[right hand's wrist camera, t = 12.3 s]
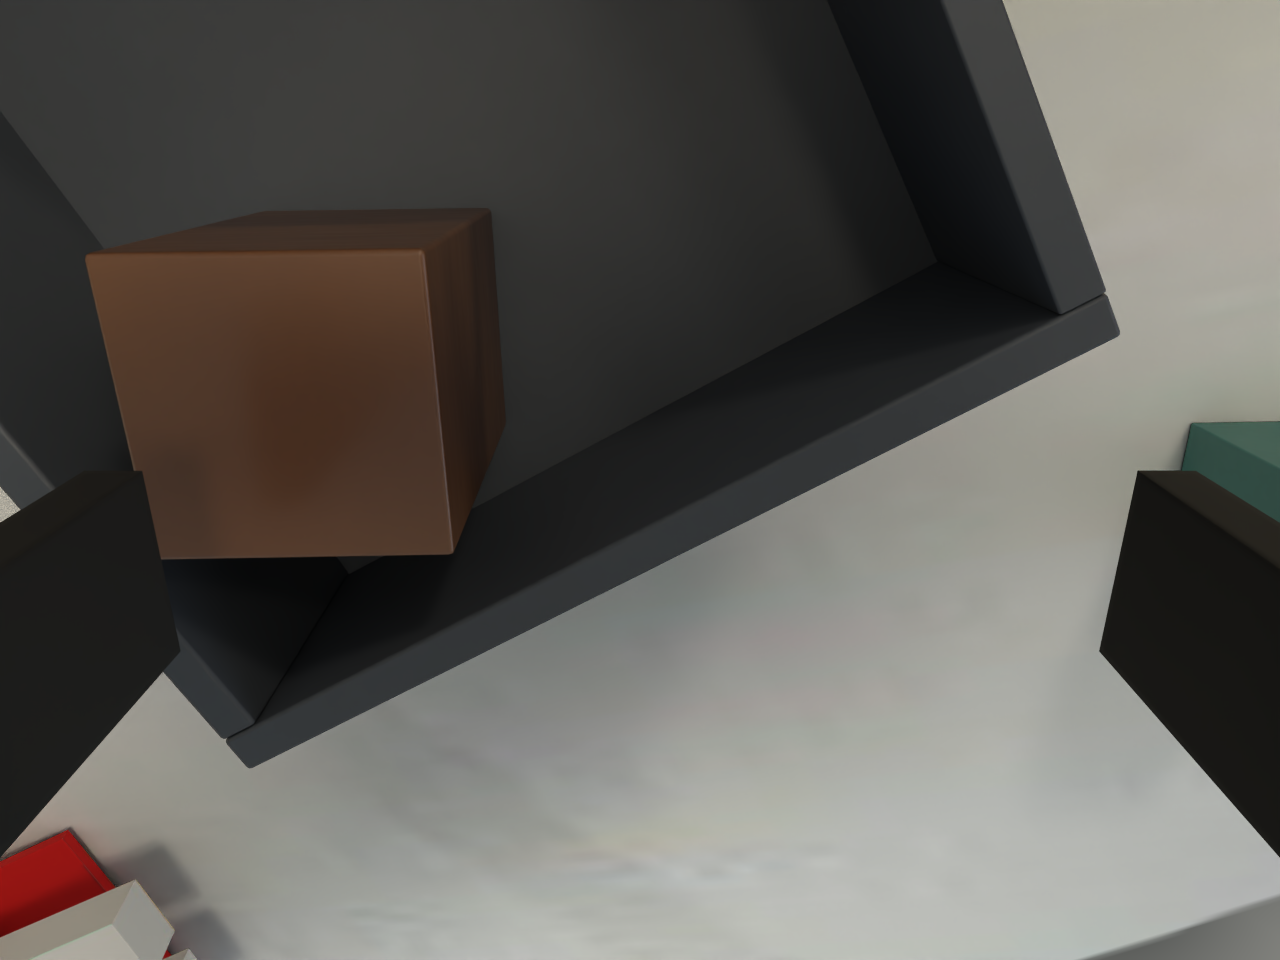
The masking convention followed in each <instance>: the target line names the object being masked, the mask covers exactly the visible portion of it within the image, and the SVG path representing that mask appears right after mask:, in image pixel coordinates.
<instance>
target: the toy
mask: <svg viewBox="0 0 1280 960" xmlns="http://www.w3.org/2000/svg"><path fill="white" fill-rule="evenodd" d="M174 932H175V930H174V929H173V927H172V926H171V925H170V923H169V922H168V921H167V919H166V918H165V917H164V916H163V914H162V913H161V912H160V910H159V909H158V908H157V906H156V905H155V904H154V902H153V901H152V900H151V899H150V897H149V896H148V895H147V893H146V892H145V891H144V889H143V888H142V887H141V885H140V884H139V883H138V882H137V880H136V879H135V880H133V881H131V882H128V883H126V884H124V885H121V886H119V887H117V888H116V887H115V886H114V885H113V884H112V883H111V881H110V880H109V879H108V878H107V876H106V875H105V874H104V873H103V872H102V870H101V869H100V868H99V867H98V866H97V864H96V863H95V862H94V861H93V859H92V858H91V857H90V856H89V855H88V853H87V852H86V851H85V850H84V849H83V847H82V846H81V845H80V844H79V842H78V841H77V840H76V839H75V838H74V836H73V835H72V834H71V833H70V832H69V830H66V831H64V832H62V833H60V834H58V835H56V836H54V837H52V838H49V839H47V840H45V841H43V842H41V843H39V844H37V845H34V846H32V847H30V848H28V849H26V850H24V851H22V852H20V853H17V854H15V855H13V856H11V857H9V858H7V859H5V860H3V861H0V960H197V959H196V957H195V956H194V955H193V953H192V952H191V951H190V949H189V948H188V949H186V950H183V951H181V952H179V953H177V954H174V955H171V954H170V953H169V952H168V950H167V947H168V945H169V943H170V941H171V938H172V936H173V934H174Z"/></svg>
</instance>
